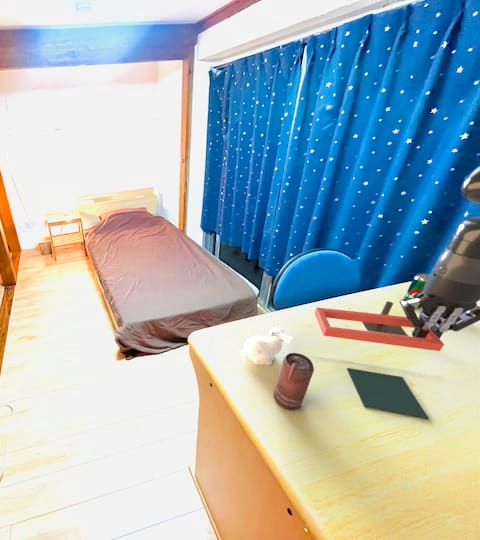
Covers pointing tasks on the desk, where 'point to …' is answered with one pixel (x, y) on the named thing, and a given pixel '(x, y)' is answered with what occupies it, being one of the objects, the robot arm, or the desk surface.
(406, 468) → the desk surface
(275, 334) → the rabbit
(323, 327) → the loop
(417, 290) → the soda can
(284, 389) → the can
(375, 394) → the mat
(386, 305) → the stand
